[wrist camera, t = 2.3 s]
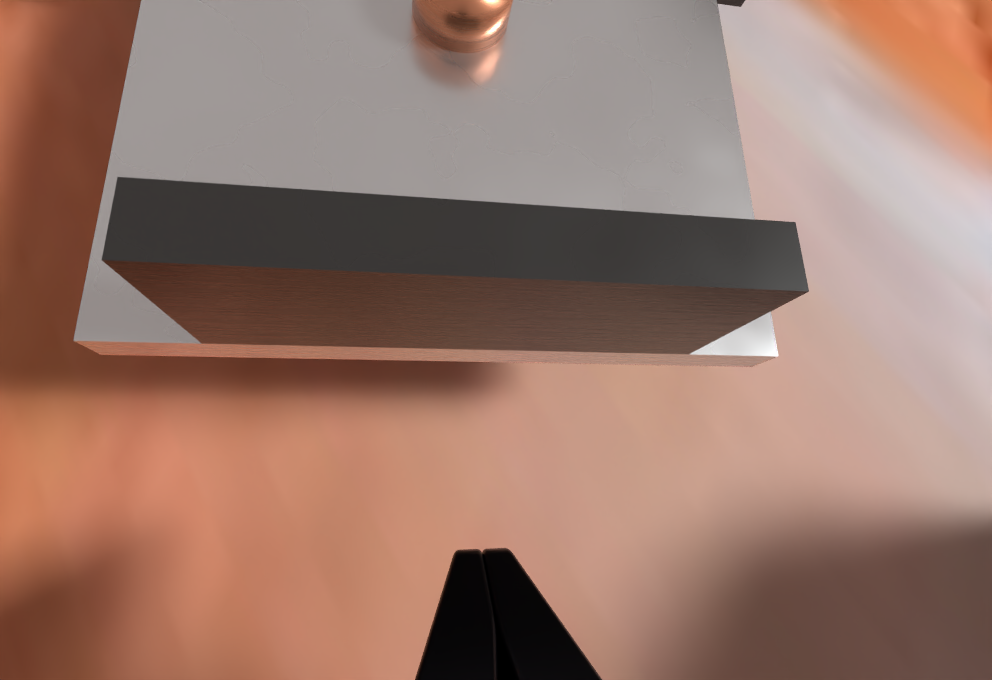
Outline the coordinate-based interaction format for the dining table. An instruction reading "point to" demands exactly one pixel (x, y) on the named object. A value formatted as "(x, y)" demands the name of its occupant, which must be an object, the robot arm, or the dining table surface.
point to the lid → (433, 187)
